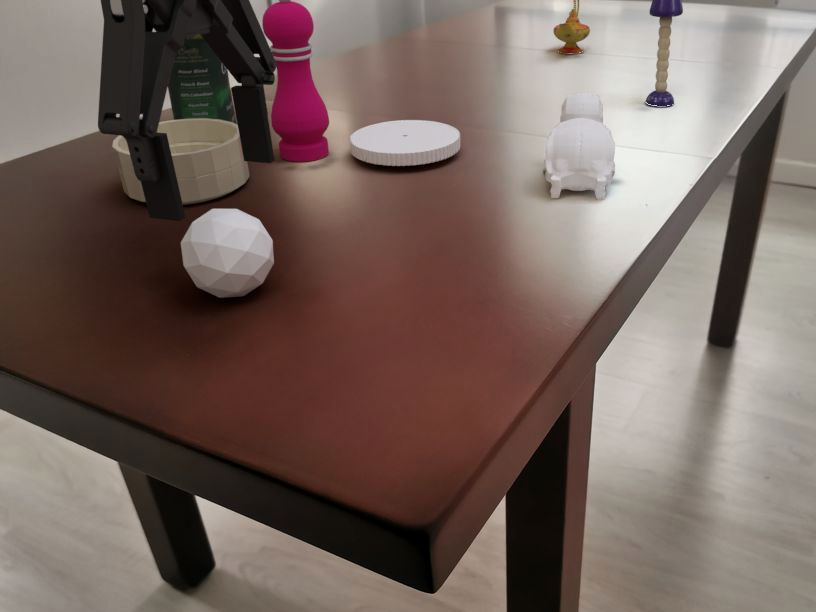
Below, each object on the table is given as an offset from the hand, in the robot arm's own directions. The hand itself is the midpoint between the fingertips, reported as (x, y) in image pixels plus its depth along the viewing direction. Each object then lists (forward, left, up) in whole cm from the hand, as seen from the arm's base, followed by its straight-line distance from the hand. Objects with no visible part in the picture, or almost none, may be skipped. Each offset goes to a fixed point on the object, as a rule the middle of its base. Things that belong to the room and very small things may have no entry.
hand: (217, 187), depth 67 cm
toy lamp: (+29, +71, -10) cm, 77 cm away
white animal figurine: (+24, +36, -10) cm, 44 cm away
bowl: (-20, +22, -10) cm, 32 cm away
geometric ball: (0, 0, -10) cm, 10 cm away
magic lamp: (+9, +102, -10) cm, 103 cm away
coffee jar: (-29, +40, -10) cm, 51 cm away
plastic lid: (+1, +39, -10) cm, 40 cm away
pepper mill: (-12, +36, -10) cm, 39 cm away
